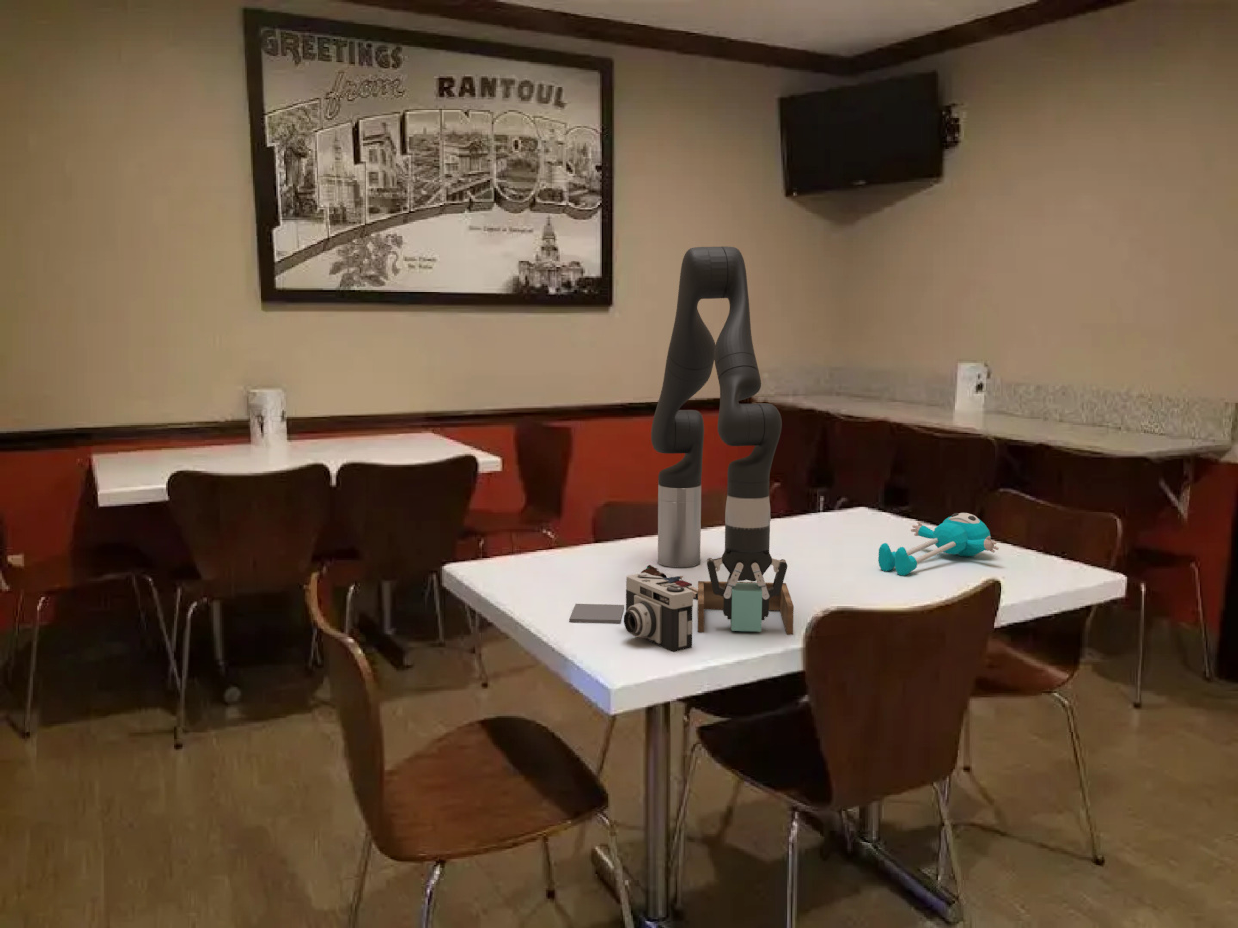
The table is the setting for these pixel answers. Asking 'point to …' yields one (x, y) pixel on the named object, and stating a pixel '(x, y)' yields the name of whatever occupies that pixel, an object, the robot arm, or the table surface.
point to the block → (746, 607)
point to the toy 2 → (940, 543)
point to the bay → (716, 602)
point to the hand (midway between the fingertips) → (745, 618)
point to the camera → (659, 611)
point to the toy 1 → (672, 579)
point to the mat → (597, 613)
